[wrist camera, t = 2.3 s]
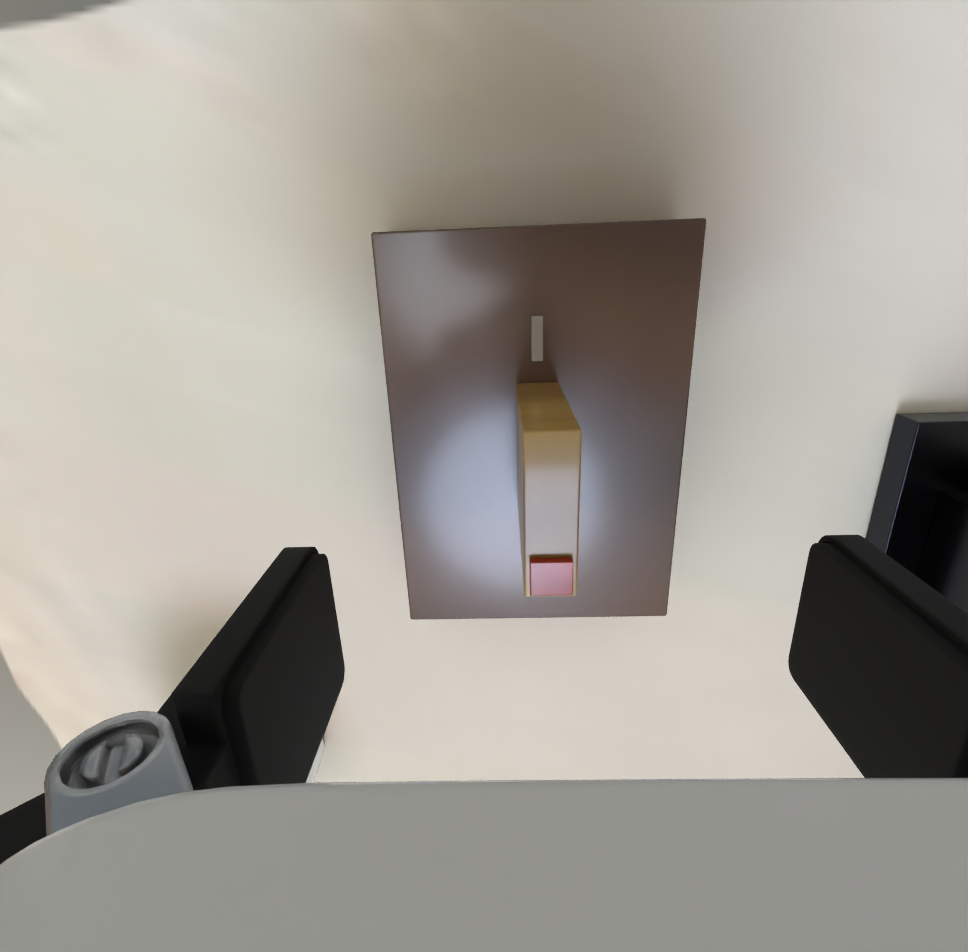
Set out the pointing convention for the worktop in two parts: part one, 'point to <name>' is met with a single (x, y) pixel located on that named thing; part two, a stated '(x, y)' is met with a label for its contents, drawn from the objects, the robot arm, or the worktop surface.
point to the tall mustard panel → (548, 489)
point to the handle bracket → (926, 501)
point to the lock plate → (536, 359)
